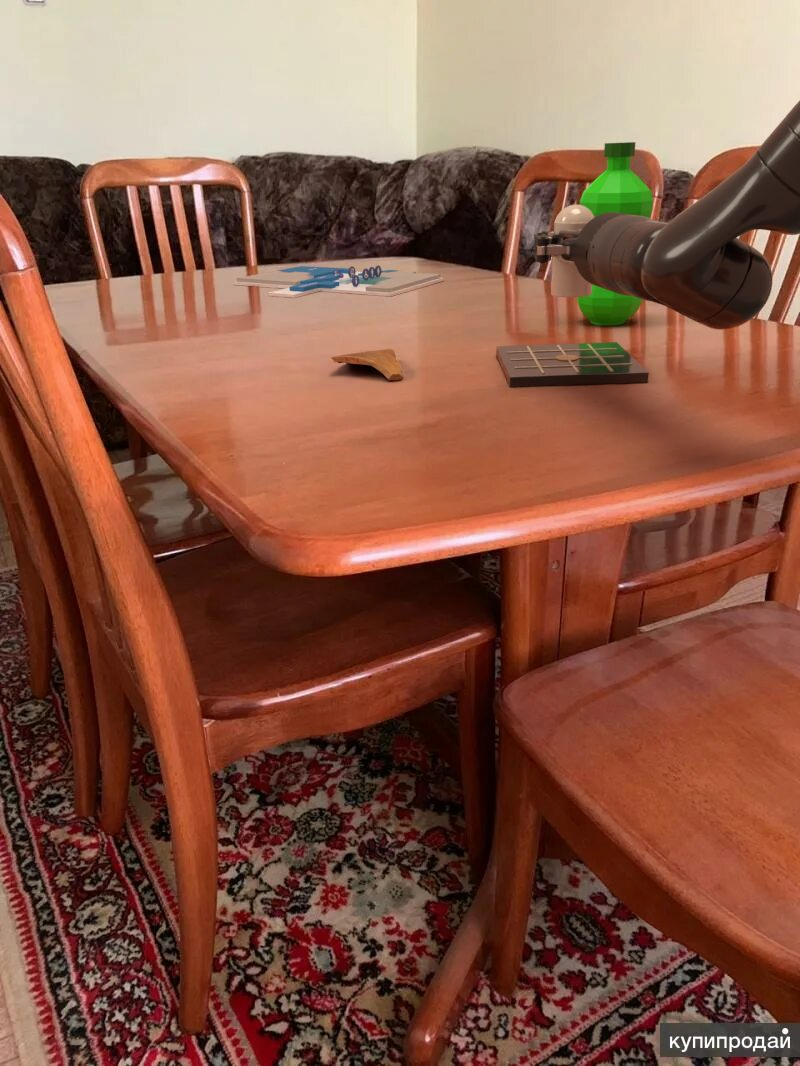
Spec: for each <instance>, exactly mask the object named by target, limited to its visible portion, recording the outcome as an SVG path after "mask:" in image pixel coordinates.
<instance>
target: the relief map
mask: <svg viewBox="0 0 800 1066" xmlns="http://www.w3.org/2000/svg"><path fill="white" fill-rule="evenodd" d="M444 281H445V277H441V273H430V272H429V273H427V272H423V273H418V272H417V271H410V270H397V269H387V270H384V269H383V270H382V267H381V266H380V265H376V266H375V267H373V266H371V267H369V268H364V269H363V270H362V271H356V268H355V267H354V266H350V267H349V268H348V267H326V266H309V265H307V266H306V265H305V266H303V265H299V266H294V267H289V268H284V269H283V268H282V269H278V270H273V271H267V272H264V273H263V272H262V273H256V274H251V275H247V276H240V277H236V281H233V286H243V287H246V286H247V287H256V288H257V287H258V288H259V287H260V288H274V289H278V290H274V291H269V292H267V294H268V297H279V298H292V299H295V298H299V297H303V296H307V295H310V294H314V293H318V292H325V293H326V292H327V293H339V294H353V295H366V296H368V295H369V296H379V297H380V296H381V297H393V296H397V295H400V294H405V293H407V292H411V291H414V290H418V289H420V288H424V287H427V286H431V285H434V284H439V283H440V282H444Z"/></svg>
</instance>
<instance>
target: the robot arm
mask: <svg viewBox="0 0 800 1066" xmlns="http://www.w3.org/2000/svg"><path fill="white" fill-rule="evenodd" d="M756 230H758V231H759V230H760V231H761V230H763V231H769V232H772V233H777V234H781V235H787V236H796V235H800V100H799V101H798V102H797V103H795V105H794V106H793V107H792V108H791V110H790V111H789V112H788V113H787V114H786V115H785V117H784V118H783V119H782V120H781V121H780V122H779V123H778V125H777V126H776V127H775V129H773V131H772V132H771V133H770V134H769V136H768V137H767V138H766V139H765V140H764V141H763V142H762V143H761V145H760V146H759V147H758V149H756V151H755V152H754V153H753V154H752V156H750V158H749V159H748V160H747V161H746V162H745V163H744V164H743V165H741V167H739V168H738V169H737V170H735V172H733V173H732V174H730V175H729V176H728V177H726V178H725V179H724V180H723V181H721V182H719V184H718V185H717V186H715V187H713V188H712V190H710V191H708V192H707V193H706V194H705V195H703V196H702V197H700V198H699V199H698V200H696V201H695V202H694V203H692V204H691V205H689V206H688V207H686V208H685V209H684V210H683V211H681V212H680V213H678V214H677V215H676V216H674V217H673V218H672V219H671V220H669V222H664V221H657V220H655V219H653V218H651V217H650V218H648V217H644V216H638V215H631V214H624V213H617V212H608V213H604V214H601V215H598V216H596V217H595V218H593V219H592V220H590V221H589V222H588V223H587V224H586V225H585V226H584V227H583V229H577V230H574V229H566V230H560V231H559V233H555V232H554V231H550V230H544V231H541V232H537V233H534V234H533V240H534V245H533V246H534V247H533V258H534V260H535V262H536V263H539V264H545V263H548V262H550V261H551V262H552V257H557V258H558V261H559V262H564V263H572V264H574V265H575V266H576V268H577V269H578V271H579V273H580V275H581V276H582V277H583V278H584V279H585V280H586V281H587V282H589V283H591V284H593V285H595V286H598V287H601V288H603V289H606V290H609V291H612V292H615V293H617V294H621V295H626V296H634V297H637V298H640V299H642V301H646V302H651V303H655V304H658V305H661V306H664V307H666V308H669V309H670V310H672V311H674V312H676V313H678V314H679V315H682V316H684V317H686V318H688V319H690V320H692V321H694V322H696V323H698V324H699V325H702V326H704V327H706V328H708V329H712V330H719V331H722V330H723V331H724V330H730V329H735V328H739V327H740V326H743V325H745V324H746V323H748V322H749V321H751V320H752V319H754V318H755V317H756V316H757V315H758V314H759V313H760V312H761V311H762V309H763V308H764V307H765V306H766V304H767V302H768V300H769V298H770V296H771V293H772V288H773V271H772V267H771V265H770V262H769V261H768V259H767V258H766V257H765V255H764V254H762V252H760V251H759V250H758V249H756V248H755V247H753V246H751V245H750V244H748V243H746V242H744V241H743V240H742V239H740V238H738V237H741V236H742V235H744V234H746V233H748V232H750V231H756ZM572 236H573V237H572ZM558 240H559V245H558Z"/></svg>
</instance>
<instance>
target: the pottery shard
mask: <svg viewBox="0 0 800 1066" xmlns="http://www.w3.org/2000/svg"><path fill="white" fill-rule="evenodd" d="M330 358H331V360H332V361H333V363H338V364H344V363H346V364H348V365H349V364H353V365H365V366H371V367H372V368H375V369H376V370H377V371H378V372H380V373H381V374H382V375H384V377H385V378H386V379H387V380H390V381H401V380H403V379H404V370H403V368H402V367H401V365H400V363H399V361H398V359H397V354H396V350H394V349H392V348H385V349H378V350H377V349H376V350H367V351H363V352H362V351H361V352H355V353H348V354H340V355H333V356H332V355H331V356H330Z"/></svg>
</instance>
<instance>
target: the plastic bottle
mask: <svg viewBox="0 0 800 1066" xmlns="http://www.w3.org/2000/svg"><path fill="white" fill-rule="evenodd" d="M635 153H636V141H631V142H630V141H627V142H605V143H604V149H603V158H607V160H606V161H607V162H606V170H604V171H603V172H602V173H601V174H600V175H598V177H596V178H595V179H594V180H593V181H592V182H591V183H590V184H589V186H587V187H586V188H585V190H583V192H582V195H581V197H580V199H579V205H582V206H585V207H587V208H588V209H589V210H590V211H591V212H592V213H593V215H594V217H596V216H598V215H601V214H604V213H608V212H617V213H624V214H631V215H638V216H644V217H648V218H651V217H652V214H653V209H654V208H653V207H654V198H653V194H652V190H651V189H650V187H648V186H647V185H646V183H645V182H643V180H642V179H641V178H640V177H639V176H638V175H637V174H636V173H634V171H633V170H631V157H635ZM576 301H577V305H578V307H579V311H580V312H581V313H582V315H583V316H584V317H585V318H586V319H587V320H588V321H590V324H592V325H597V326H608V327H609V326H620V325H624V324H625V323H626V321H628V320H630V318H631V317H632V316H634V315H635V314H636V313H637V311H639V309H640V307H641V305H642V303H643V299H640V298H637V297H634V296H626V295H621V294H617V293H615V292H612V291H609V290H606V289H603V288H601V287H598V286H595V285H593V284H592V294H591V295H590V296H585V297H576Z"/></svg>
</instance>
